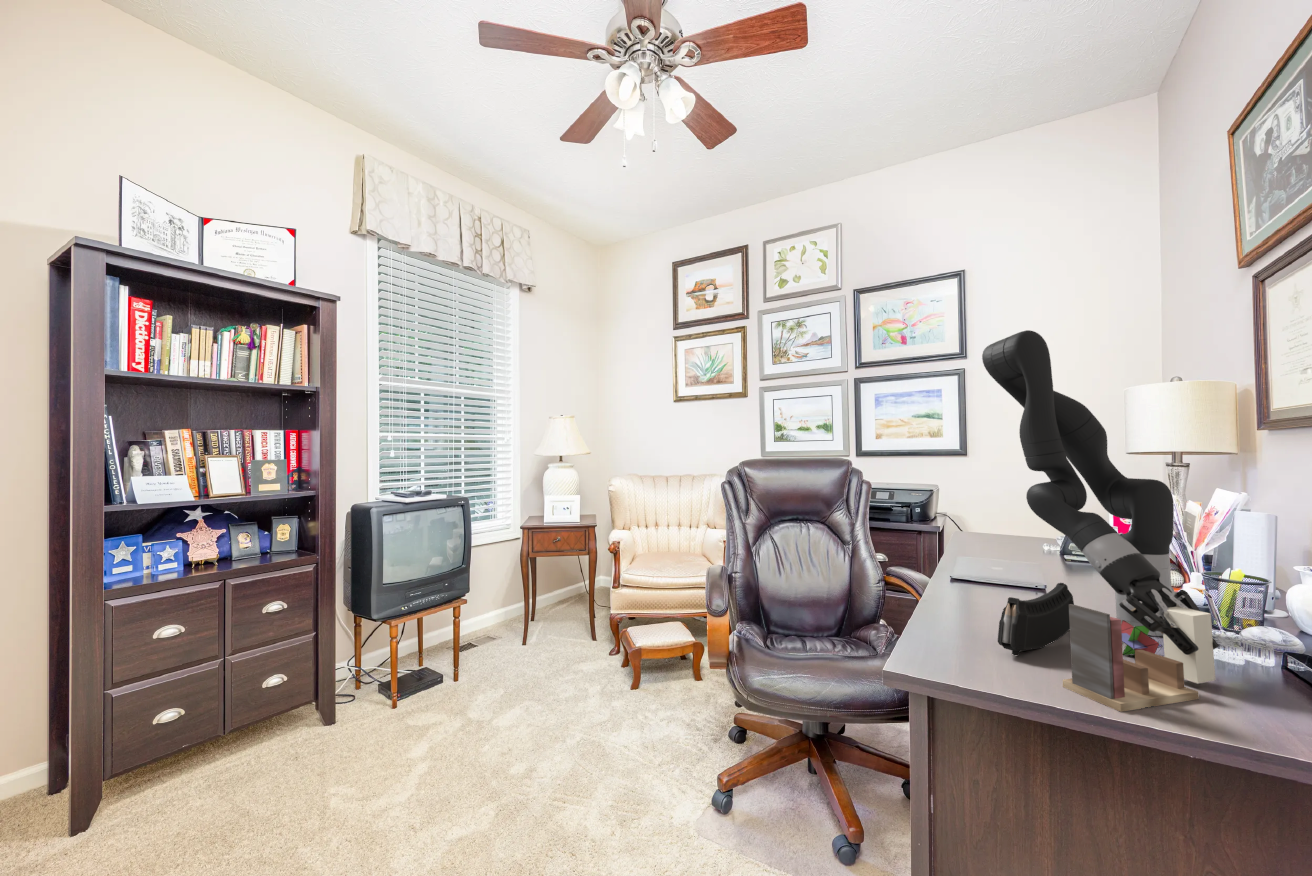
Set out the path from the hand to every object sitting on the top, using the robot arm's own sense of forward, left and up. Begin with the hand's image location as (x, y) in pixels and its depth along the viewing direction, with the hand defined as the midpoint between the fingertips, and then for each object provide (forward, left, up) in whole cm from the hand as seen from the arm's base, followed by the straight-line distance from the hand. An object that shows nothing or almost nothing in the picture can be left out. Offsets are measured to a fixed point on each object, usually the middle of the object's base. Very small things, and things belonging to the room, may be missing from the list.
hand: (1202, 650), depth 87 cm
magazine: (+6, -24, -7) cm, 26 cm away
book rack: (+13, -2, -6) cm, 15 cm away
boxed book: (0, -2, -5) cm, 5 cm away
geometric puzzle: (-5, -13, -7) cm, 15 cm away
